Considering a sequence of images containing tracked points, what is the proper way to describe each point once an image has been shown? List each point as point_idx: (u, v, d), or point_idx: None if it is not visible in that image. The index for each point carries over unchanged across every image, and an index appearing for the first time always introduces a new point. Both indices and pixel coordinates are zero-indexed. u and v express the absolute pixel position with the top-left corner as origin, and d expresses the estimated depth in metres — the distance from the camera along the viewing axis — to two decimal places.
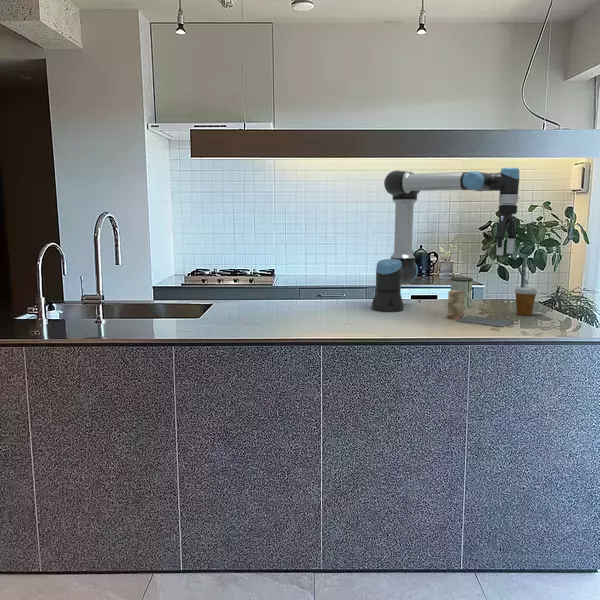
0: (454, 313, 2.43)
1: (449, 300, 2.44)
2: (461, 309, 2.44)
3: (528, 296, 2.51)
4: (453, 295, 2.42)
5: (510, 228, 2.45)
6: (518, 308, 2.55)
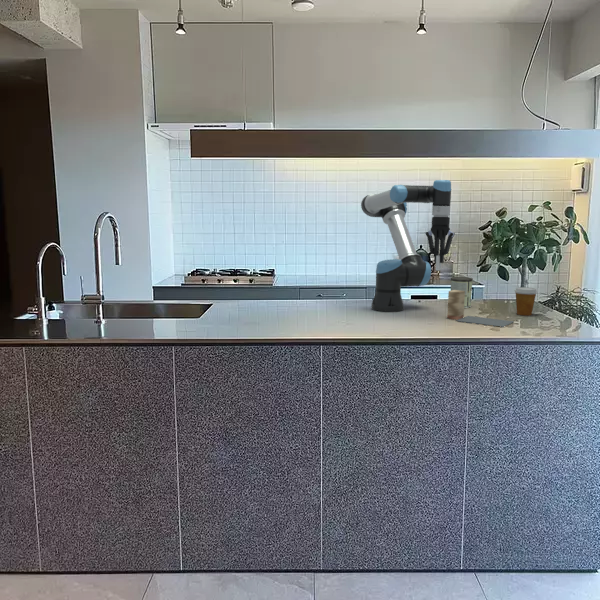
0: (454, 313, 2.43)
1: (449, 300, 2.44)
2: (461, 309, 2.44)
3: (528, 296, 2.51)
4: (453, 295, 2.42)
5: None
6: (518, 308, 2.55)
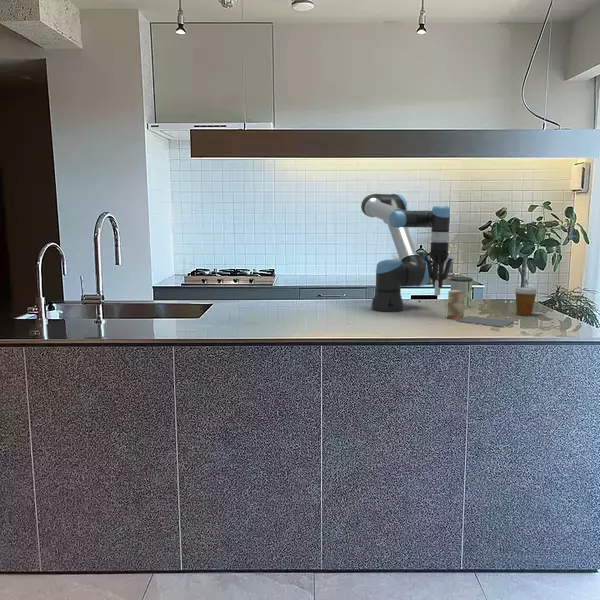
0: (454, 313, 2.43)
1: (449, 300, 2.44)
2: (461, 309, 2.44)
3: (528, 296, 2.51)
4: (453, 295, 2.42)
5: None
6: (518, 308, 2.55)
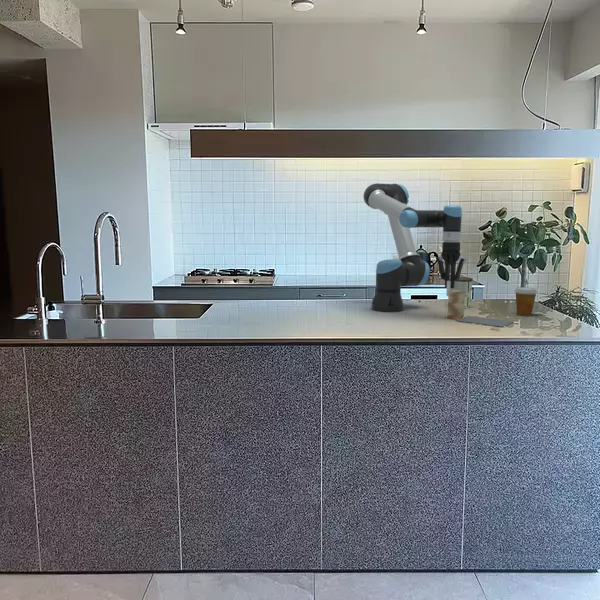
0: (454, 313, 2.43)
1: (449, 300, 2.44)
2: (461, 309, 2.44)
3: (528, 296, 2.51)
4: (453, 295, 2.42)
5: None
6: (518, 308, 2.55)
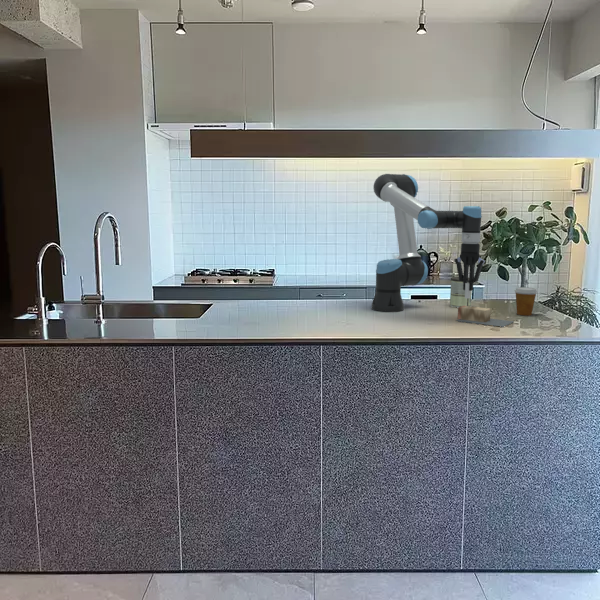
0: (463, 315, 2.40)
1: (476, 310, 2.37)
2: None
3: (528, 296, 2.51)
4: (482, 315, 2.36)
5: None
6: (518, 308, 2.55)
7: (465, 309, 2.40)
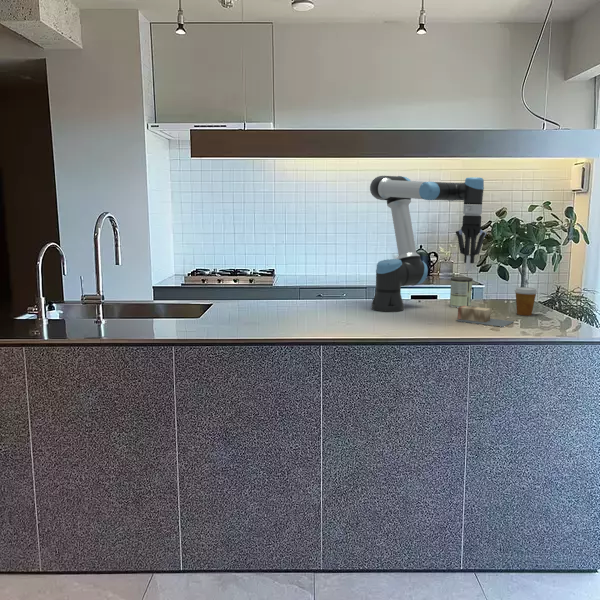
0: (463, 315, 2.40)
1: (476, 310, 2.37)
2: None
3: (528, 296, 2.51)
4: (482, 315, 2.36)
5: None
6: (518, 308, 2.55)
7: (465, 309, 2.40)
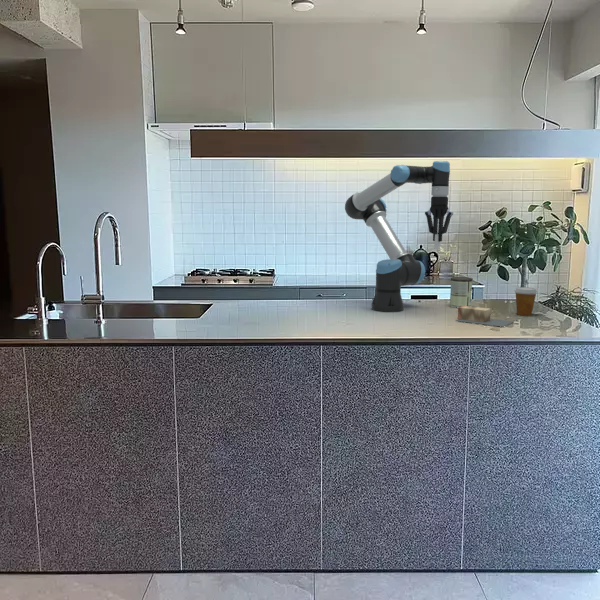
0: (463, 315, 2.40)
1: (476, 310, 2.37)
2: None
3: (528, 296, 2.51)
4: (482, 315, 2.36)
5: None
6: (518, 308, 2.55)
7: (465, 309, 2.40)
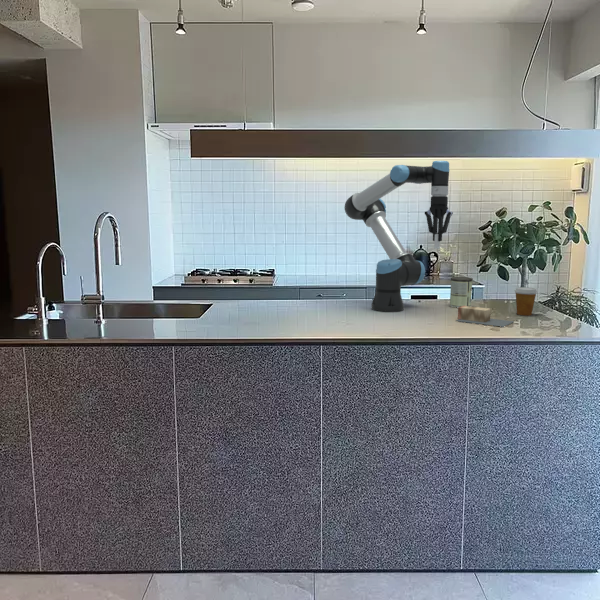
0: (463, 315, 2.40)
1: (476, 310, 2.37)
2: None
3: (528, 296, 2.51)
4: (482, 315, 2.36)
5: None
6: (518, 308, 2.55)
7: (465, 309, 2.40)
